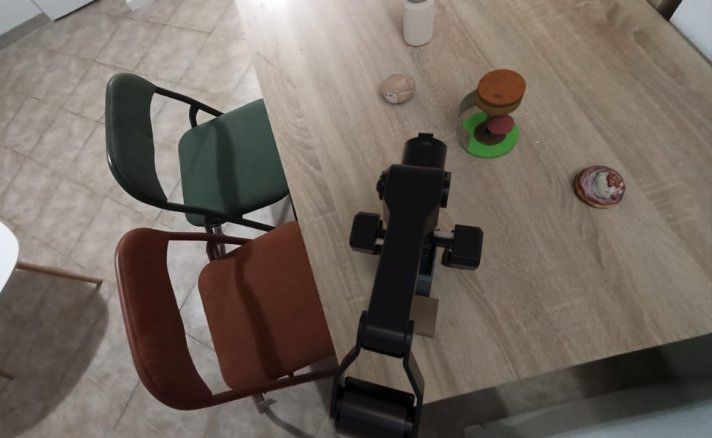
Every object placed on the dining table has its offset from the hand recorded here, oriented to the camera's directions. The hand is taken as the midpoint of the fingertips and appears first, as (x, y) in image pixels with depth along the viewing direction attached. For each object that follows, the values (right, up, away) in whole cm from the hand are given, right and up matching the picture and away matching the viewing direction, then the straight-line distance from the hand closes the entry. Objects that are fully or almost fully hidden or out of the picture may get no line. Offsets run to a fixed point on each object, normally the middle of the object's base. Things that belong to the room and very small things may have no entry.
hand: (413, 256), depth 74 cm
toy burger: (+19, +23, +13) cm, 33 cm away
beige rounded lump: (+4, +33, +22) cm, 40 cm away
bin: (+1, -7, +5) cm, 9 cm away
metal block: (0, -11, +4) cm, 12 cm away
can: (+10, +48, +27) cm, 57 cm away
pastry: (+34, +12, +3) cm, 36 cm away
